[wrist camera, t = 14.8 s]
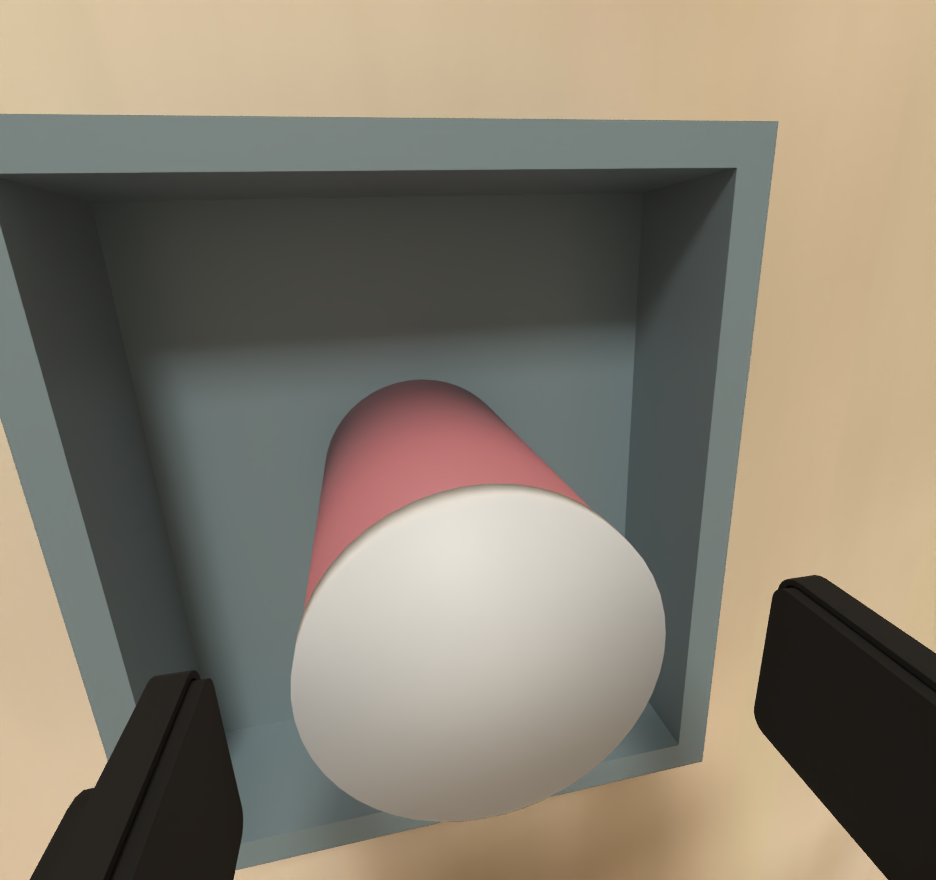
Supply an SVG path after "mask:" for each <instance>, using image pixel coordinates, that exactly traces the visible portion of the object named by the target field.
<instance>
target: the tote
mask: <svg viewBox="0 0 936 880" xmlns="http://www.w3.org/2000/svg"><path fill="white" fill-rule="evenodd" d="M777 129H778V121H681V120H577V119H474V118H370V117H266V116H163V115H59V114H0V418H1V421H2V424H3V428H4V431H5V434H6V437H7V440H8V444H9V447H10V450H11V453H12V456H13V460H14V463H15V466H16V469H17V472H18V475H19V479H20V482H21V485H22V488H23V491H24V495H25V498H26V501H27V504H28V507H29V511H30V514H31V517H32V520H33V523H34V527H35V530H36V533H37V536H38V539H39V542H40V546H41V549H42V552H43V555H44V558H45V562H46V565H47V568H48V571H49V574H50V578H51V581H52V584H53V587H54V590H55V593H56V597H57V600H58V603H59V606H60V609H61V613H62V616H63V619H64V622H65V625H66V629H67V632H68V635H69V638H70V641H71V645H72V648H73V651H74V654H75V657H76V660H77V664H78V667H79V670H80V673H81V676H82V680H83V683H84V686H85V689H86V692H87V696H88V699H89V702H90V705H91V708H92V712H93V715H94V718H95V721H96V724H97V727H98V731H99V734H100V737H101V740H102V743H103V747H104V750H105V753H106V756H107V759H108V760H109V758H110V756H111V754H112V752H113V750H114V748H115V746H116V744H117V742H118V740H119V738H120V736H121V734H122V732H123V730H124V728H125V726H126V725H127V723H128V721H129V719H130V717H131V715H132V713H133V711H134V709H135V707H136V705H137V703H138V701H139V699H140V697H141V695H142V693H143V691H144V689H145V687H146V685H147V683H148V682H149V680H150V679H151V678H152V677H154V676H158V675H164V674H171V673H178V672H184V671H191V670H195V671H197V672H198V673H199V675H200V678H201V679H207V678H210V679H211V680H212V681H213V684H214V688H215V692H216V696H217V701H218V705H219V709H220V714H221V718H222V722H223V727H224V731H225V735H226V740H227V744H228V748H229V753H230V757H231V761H232V766H233V770H234V774H235V779H236V783H237V787H238V792H239V796H240V800H241V805H242V810H243V834H242V840H241V845H240V850H239V855H238V859H237V864H236V869H235V870H239V869H243V868H248V867H252V866H256V865H261V864H265V863H269V862H273V861H278V860H282V859H286V858H290V857H295V856H299V855H303V854H308V853H312V852H316V851H320V850H325V849H329V848H333V847H338V846H342V845H346V844H350V843H355V842H359V841H363V840H368V839H372V838H376V837H380V836H385V835H389V834H393V833H398V832H402V831H406V830H410V829H415V828H419V827H423V826H428V825H432V824H436V823H440V822H434V821H422V820H414V819H410V818H405V817H400V816H395V815H392V814H389V813H386V812H383V811H380V810H377V809H375V808H373V807H371V806H368V805H366V804H364V803H362V802H360V801H358V800H356V799H355V798H353V797H352V796H350V795H349V794H347V793H346V792H344V791H343V790H341V789H340V788H339V787H338V786H336V785H335V784H334V783H333V782H332V781H331V780H330V779H329V778H328V777H327V776H326V775H324V773H323V772H322V771H321V770H320V768H319V767H318V766H317V765H316V763H315V762H314V761H313V760H312V758H311V757H310V755H309V753H308V751H307V749H306V748H305V746H304V744H303V742H302V740H301V738H300V735H299V732H298V729H297V726H296V723H295V721H294V715H293V709H292V703H291V672H292V665H293V659H294V652H295V646H296V640H297V634H298V628H299V625H300V622H301V619H302V616H303V612H304V605H305V599H306V592H307V585H308V578H309V571H310V565H311V558H312V551H313V544H314V537H315V530H316V524H317V517H318V510H319V503H320V496H321V490H322V483H323V476H324V469H325V463H326V456H327V451H328V448H329V445H330V442H331V439H332V437H333V435H334V433H335V431H336V429H337V427H338V426H339V424H340V423H341V421H342V420H343V418H344V417H345V416H346V415H347V414H348V412H349V411H350V410H351V409H352V408H353V407H354V406H355V405H356V404H358V403H359V402H360V401H361V400H362V399H364V398H365V397H367V396H368V395H370V394H371V393H373V392H375V391H377V390H379V389H381V388H383V387H386V386H389V385H392V384H394V383H398V382H403V381H408V380H420V379H424V380H437V381H442V382H447V383H450V384H453V385H456V386H459V387H461V388H463V389H465V390H467V391H469V392H471V393H472V394H474V395H475V396H477V397H478V398H480V399H481V400H482V401H483V402H484V403H485V404H486V405H488V406H489V407H490V408H491V409H492V410H493V411H494V412H495V413H496V414H497V415H498V416H499V417H500V418H501V419H502V420H503V421H504V422H505V423H506V424H507V425H508V426H509V427H510V428H511V429H512V430H513V431H514V432H515V433H516V434H517V435H518V436H519V437H520V438H521V439H522V440H523V441H524V442H525V443H526V444H527V445H528V446H529V447H530V448H531V449H532V450H533V451H534V452H535V453H536V454H537V455H538V456H539V457H540V458H541V459H542V460H543V461H544V462H545V463H546V464H547V465H548V466H549V467H550V468H551V469H552V470H553V471H554V472H555V473H556V474H557V475H558V476H559V477H560V478H561V479H562V480H563V481H564V482H565V483H566V484H567V485H568V486H569V487H570V488H571V489H572V490H573V491H574V492H575V493H576V494H577V495H578V496H579V497H580V498H581V499H582V500H583V501H584V502H585V503H586V504H587V505H588V506H589V507H590V508H591V509H592V510H593V511H595V512H596V513H598V514H599V515H600V516H601V517H602V518H604V519H605V520H606V521H607V522H608V523H609V524H610V525H612V526H613V527H614V528H615V529H616V530H617V531H618V532H619V533H620V534H621V535H622V536H623V537H624V538H625V539H626V540H627V541H628V542H629V543H630V544H631V545H632V546H633V548H634V549H635V550H636V551H637V552H638V554H639V555H640V556H641V557H642V558H643V560H644V561H645V563H646V565H647V567H648V568H649V570H650V572H651V573H652V575H653V577H654V580H655V582H656V585H657V587H658V590H659V593H660V595H661V600H662V604H663V609H664V614H665V630H666V637H665V649H664V656H663V661H662V665H661V670H660V674H659V676H658V679H657V682H656V685H655V688H654V690H653V693H652V695H651V697H650V699H649V701H648V703H647V705H646V707H645V709H644V711H643V712H642V714H641V715H640V717H639V718H638V720H637V721H636V723H635V725H634V726H633V728H632V729H631V730H630V731H629V733H628V734H627V735H626V736H625V738H624V739H623V740H622V741H621V743H620V744H619V745H618V746H617V747H616V748H615V749H614V750H613V751H612V752H611V753H610V754H609V755H608V756H607V757H606V758H605V759H604V760H603V761H602V762H601V763H599V764H598V765H597V766H596V767H595V768H593V769H592V770H591V771H590V772H588V773H587V774H586V775H585V776H583V777H582V778H580V779H579V780H577V781H576V782H574V783H573V784H571V785H570V786H568V787H567V788H565V789H563V790H561V791H559V792H558V793H556V794H554V795H552V796H556V795H560V794H565V793H569V792H573V791H577V790H582V789H586V788H590V787H595V786H599V785H603V784H607V783H612V782H616V781H620V780H625V779H629V778H633V777H637V776H642V775H646V774H650V773H655V772H659V771H663V770H667V769H672V768H676V767H680V766H685V765H689V764H693V763H697V762H702V759H703V750H704V742H705V734H706V725H707V717H708V708H709V700H710V692H711V683H712V675H713V667H714V658H715V650H716V641H717V633H718V625H719V616H720V608H721V599H722V591H723V583H724V574H725V566H726V557H727V549H728V541H729V532H730V524H731V515H732V507H733V499H734V490H735V482H736V473H737V465H738V457H739V448H740V440H741V431H742V423H743V415H744V406H745V398H746V390H747V381H748V373H749V364H750V356H751V348H752V339H753V331H754V322H755V314H756V306H757V297H758V289H759V280H760V272H761V264H762V255H763V247H764V238H765V230H766V222H767V213H768V205H769V196H770V188H771V180H772V171H773V163H774V154H775V146H776V138H777ZM552 796H550V797H552Z"/></svg>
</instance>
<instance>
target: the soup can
mask: <svg viewBox="0 0 936 880" xmlns="http://www.w3.org/2000/svg"><path fill="white" fill-rule="evenodd" d="M665 637H666V630H665V614H664V609H663V604H662V600H661V595H660V593H659V590H658V587H657V585H656V582H655V580H654V577H653V575H652V573H651V572H650V570H649V568H648V567H647V565H646V563H645V561H644V560H643V558H642V557H641V556H640V555H639V554H638V552H637V551H636V550H635V549H634V548H633V546H632V545H631V544H630V543H629V542H628V541H627V540H626V539H625V538H624V537H623V536H622V535H621V534H620V533H619V532H618V531H617V530H616V529H615V528H614V527H613V526H612V525H610V524H609V523H608V522H607V521H606V520H605V519H604V518H602V517H601V516H600V515H599V514H598V513H596V512H595V511H593V510H592V509H591V508H590V507H589V506H588V505H587V504H586V503H585V502H584V501H583V500H582V499H581V498H580V497H579V496H578V495H577V494H576V493H575V492H574V491H573V490H572V489H571V488H570V487H569V486H568V485H567V484H566V483H565V482H564V481H563V480H562V479H561V478H560V477H559V476H558V475H557V474H556V473H555V472H554V471H553V470H552V469H551V468H550V467H549V466H548V465H547V464H546V463H545V462H544V461H543V460H542V459H541V458H540V457H539V456H538V455H537V454H536V453H535V452H534V451H533V450H532V449H531V448H530V447H529V446H528V445H527V444H526V443H525V442H524V441H523V440H522V439H521V438H520V437H519V436H518V435H517V434H516V433H515V432H514V431H513V430H512V429H511V428H510V427H509V426H508V425H507V424H506V423H505V422H504V421H503V420H502V419H501V418H500V417H499V416H498V415H497V414H496V413H495V412H494V411H493V410H492V409H491V408H490V407H489V406H488V405H486V404H485V403H484V402H483V401H482V400H481V399H480V398H478V397H477V396H475V395H474V394H472V393H471V392H469V391H467V390H465V389H463V388H461V387H459V386H456V385H453V384H450V383H447V382H442V381H437V380H424V379H420V380H408V381H403V382H398V383H394V384H392V385H389V386H386V387H383V388H381V389H379V390H377V391H375V392H373V393H371V394H370V395H368V396H367V397H365V398H364V399H362V400H361V401H360V402H359V403H358V404H356V405H355V406H354V407H353V408H352V409H351V410H350V411H349V412H348V414H347V415H346V416H345V417H344V418H343V420H342V421H341V423H340V424H339V426H338V427H337V429H336V431H335V433H334V435H333V437H332V439H331V442H330V445H329V448H328V451H327V456H326V463H325V469H324V476H323V483H322V490H321V496H320V503H319V510H318V517H317V524H316V530H315V537H314V544H313V551H312V558H311V565H310V571H309V578H308V585H307V592H306V599H305V605H304V612H303V616H302V619H301V622H300V625H299V628H298V634H297V640H296V646H295V652H294V659H293V665H292V672H291V703H292V709H293V715H294V721H295V723H296V726H297V729H298V732H299V735H300V738H301V740H302V742H303V744H304V746H305V748H306V749H307V751H308V753H309V755H310V757H311V758H312V760H313V761H314V762H315V763H316V765H317V766H318V767H319V768H320V770H321V771H322V772H323V773H324V775H326V776H327V777H328V778H329V779H330V780H331V781H332V782H333V783H334V784H335V785H336V786H338V787H339V788H340V789H341V790H343V791H344V792H346V793H347V794H349V795H350V796H352V797H353V798H355V799H356V800H358V801H360V802H362V803H364V804H366V805H368V806H371V807H373V808H375V809H377V810H380V811H383V812H386V813H389V814H392V815H395V816H400V817H405V818H410V819H414V820H422V821H434V822H461V821H469V820H478V819H485V818H489V817H494V816H498V815H503V814H507V813H510V812H513V811H516V810H519V809H522V808H525V807H528V806H530V805H532V804H535V803H537V802H539V801H542V800H544V799H546V798H548V797H550V796H552V795H554V794H556V793H558V792H559V791H561V790H563V789H565V788H567V787H568V786H570V785H571V784H573V783H574V782H576V781H577V780H579V779H580V778H582V777H583V776H585V775H586V774H587V773H588V772H590V771H591V770H592V769H593V768H595V767H596V766H597V765H598V764H599V763H601V762H602V761H603V760H604V759H605V758H606V757H607V756H608V755H609V754H610V753H611V752H612V751H613V750H614V749H615V748H616V747H617V746H618V745H619V744H620V743H621V741H622V740H623V739H624V738H625V736H626V735H627V734H628V733H629V731H630V730H631V729H632V728H633V726H634V725H635V723H636V721H637V720H638V718H639V717H640V715H641V714H642V712H643V711H644V709H645V707H646V705H647V703H648V701H649V699H650V697H651V695H652V693H653V690H654V688H655V685H656V682H657V679H658V676H659V674H660V670H661V665H662V661H663V656H664V649H665Z"/></svg>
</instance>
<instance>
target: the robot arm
mask: <svg viewBox="0 0 936 880" xmlns="http://www.w3.org/2000/svg"><path fill="white" fill-rule="evenodd" d="M754 714H755V719H756V722H757V724H758V726H759V728H760V730H761V731H762V733H763V734H764V735H765V736H766V737H767V739H768V740H769V741H770V742H771V743H772V744H773V746H774V747H775V748H776V749H777V750H778V751H779V753H780V754H781V755H782V756H783V757H784V758H785V760H786V761H787V762H788V763H789V764H790V766H791V767H792V768H793V769H794V770H795V771H796V773H797V774H798V775H799V776H800V777H801V778H802V780H803V781H804V782H805V783H806V784H807V785H808V787H809V788H810V789H811V790H812V791H813V792H814V794H815V795H816V796H817V797H818V798H819V799H820V801H821V802H822V803H823V804H824V805H825V806H826V808H827V809H828V810H829V811H830V812H831V813H832V815H833V816H834V817H835V818H836V819H837V820H838V822H839V823H840V824H841V825H842V826H843V828H844V829H845V830H846V831H847V832H848V833H849V835H850V836H851V837H852V838H853V839H854V840H855V842H856V843H857V844H858V845H859V846H860V847H861V849H862V850H863V851H864V852H865V853H866V854H867V856H868V857H869V858H870V859H871V860H872V861H873V863H874V864H875V865H876V866H877V867H878V868H879V870H880V871H881V872H882V873H883V874H884V875H885V877H886V878H887V879H888V880H936V653H934V652H933V651H931V650H930V649H928V648H927V647H926V646H924V645H923V644H921V643H920V642H918V641H917V640H915V639H914V638H912V637H911V636H909V635H908V634H906V633H905V632H903V631H902V630H901V629H899V628H898V627H896V626H895V625H893V624H892V623H890V622H889V621H887V620H886V619H884V618H883V617H881V616H880V615H878V614H877V613H876V612H874V611H873V610H871V609H870V608H868V607H867V606H865V605H864V604H862V603H861V602H859V601H858V600H856V599H855V598H853V597H852V596H851V595H849V594H848V593H846V592H845V591H843V590H842V589H840V588H839V587H837V586H836V585H834V584H833V583H831V582H830V581H828V580H827V579H825V578H823V577H821V576H817V575H812V576H805V577H799V578H792V579H787V580H784V581H783V582H782V583H781V584H780V585H779V588H778V590H776V591H775V592H774V594H773V597H772V603H771V609H770V615H769V621H768V627H767V633H766V639H765V645H764V651H763V657H762V663H761V670H760V676H759V682H758V688H757V694H756V700H755V706H754ZM242 834H243V810H242V805H241V800H240V796H239V792H238V787H237V783H236V779H235V774H234V770H233V766H232V761H231V757H230V753H229V748H228V744H227V740H226V735H225V731H224V727H223V722H222V718H221V714H220V709H219V705H218V701H217V696H216V692H215V688H214V684H213V681H212V680H211V679H210V678H207V679H201V678H200V675H199V673H198V672H197V671H195V670H191V671H184V672H178V673H171V674H164V675H158V676H154V677H152V678H151V679H150V680H149V682H148V683H147V685H146V687H145V689H144V691H143V693H142V695H141V697H140V699H139V701H138V703H137V705H136V707H135V709H134V711H133V713H132V715H131V717H130V719H129V721H128V723H127V725H126V726H125V728H124V730H123V732H122V734H121V736H120V738H119V740H118V742H117V744H116V746H115V748H114V750H113V752H112V754H111V756H110V758H109V760H108V762H107V764H106V766H105V768H104V770H103V772H102V774H101V776H100V778H99V780H98V782H97V784H96V786H95V788H91V789H87V790H83V791H82V792H81V793H80V794H79V795H78V796H76V797H75V799H74V800H73V802H72V803H71V805H70V806H69V808H68V809H67V811H66V813H65V815H64V817H63V819H62V820H61V822H60V824H59V826H58V828H57V830H56V832H55V834H54V835H53V837H52V839H51V841H50V843H49V845H48V847H47V848H46V850H45V852H44V854H43V856H42V858H41V860H40V862H39V863H38V865H37V867H36V869H35V871H34V873H33V875H32V876H31V878H30V880H233V879H234V874H235V869H236V864H237V859H238V855H239V850H240V845H241V840H242Z"/></svg>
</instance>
